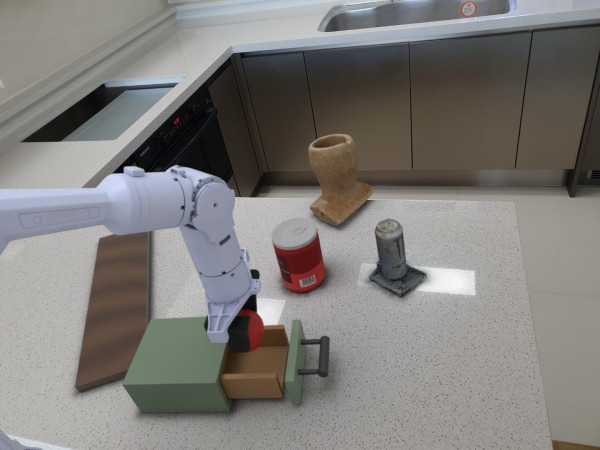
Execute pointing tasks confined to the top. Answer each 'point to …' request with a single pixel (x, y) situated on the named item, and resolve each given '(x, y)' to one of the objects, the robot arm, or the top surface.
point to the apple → (253, 328)
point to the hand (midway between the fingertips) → (246, 333)
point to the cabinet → (177, 368)
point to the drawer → (273, 365)
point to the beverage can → (393, 259)
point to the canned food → (299, 254)
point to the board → (115, 309)
